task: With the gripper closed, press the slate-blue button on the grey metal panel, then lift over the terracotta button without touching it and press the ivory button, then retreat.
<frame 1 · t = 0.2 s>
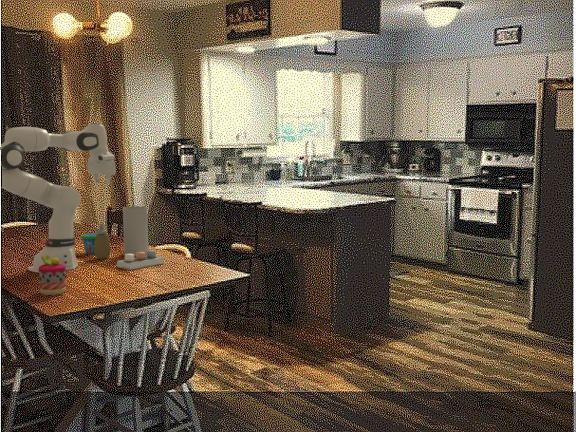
hand: (102, 183, 316), 39 cm above the table, tool pointing down, fingers open, 8 cm apart
terracotta button: (140, 255, 308), point 5 cm above the table, slide at 0.0 cm
cake: (53, 293, 255), on the table
squeeze bottle: (102, 258, 325), on the table
panel: (140, 265, 308), on the table
snack cup: (92, 253, 338), on the table
cylinder vase: (136, 254, 336), on the table
ivory button: (129, 257, 303), point 5 cm above the table, slide at 0.0 cm
slate button: (151, 253, 313), point 5 cm above the table, slide at 0.0 cm
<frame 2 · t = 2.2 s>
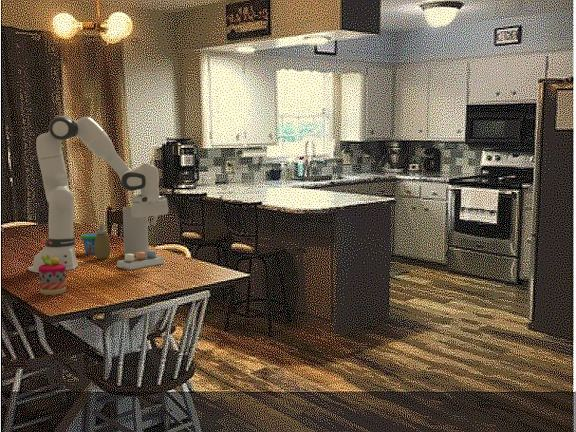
hand: (150, 225, 311), 19 cm above the table, tool pointing down, fingers closed
nothing on the table moved.
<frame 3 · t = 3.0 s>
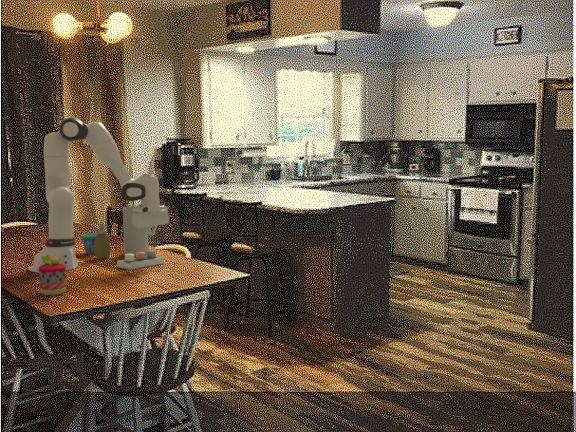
hand: (151, 234, 312), 14 cm above the table, tool pointing down, fingers closed
nothing on the table moved.
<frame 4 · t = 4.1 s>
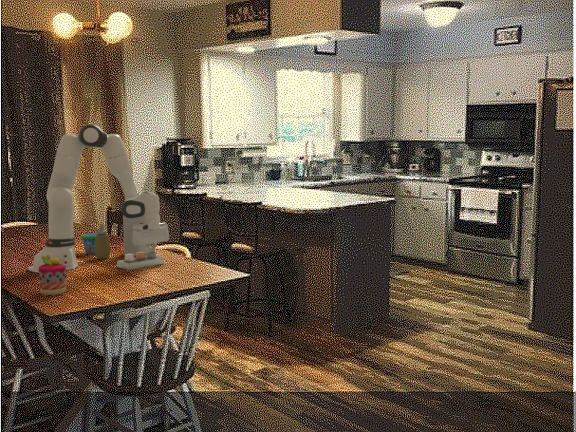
hand: (151, 252, 313), 6 cm above the table, tool pointing down, fingers closed, pressing on slate button
slate button: (151, 255, 313), point 4 cm above the table, slide at -0.8 cm, touching gripper
everything else where it was.
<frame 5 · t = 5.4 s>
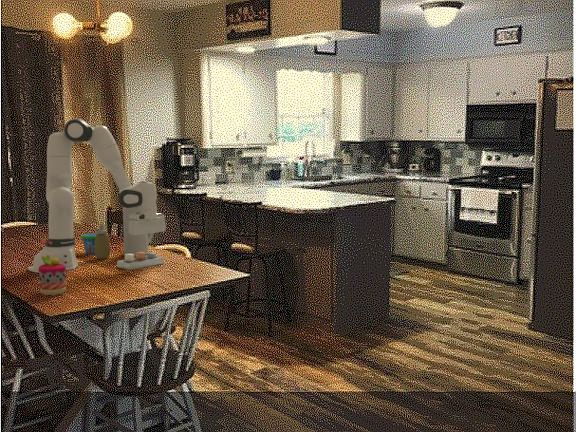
hand: (147, 242, 311), 11 cm above the table, tool pointing down, fingers closed
slate button: (151, 256, 313), point 4 cm above the table, slide at -1.3 cm
everything else where it was.
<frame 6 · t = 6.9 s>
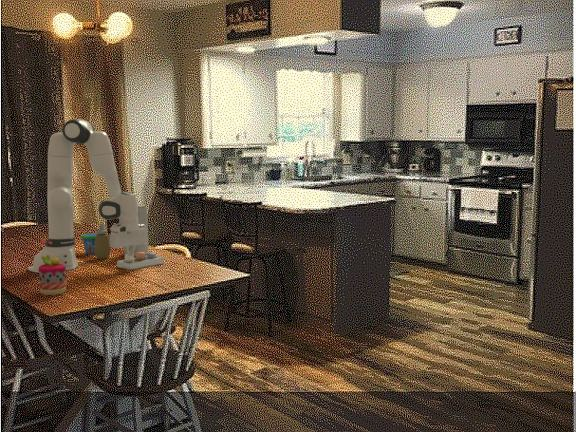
hand: (130, 254, 303), 6 cm above the table, tool pointing down, fingers closed
ivory button: (129, 258, 303), point 5 cm above the table, slide at -0.3 cm, touching gripper
everything else where it was.
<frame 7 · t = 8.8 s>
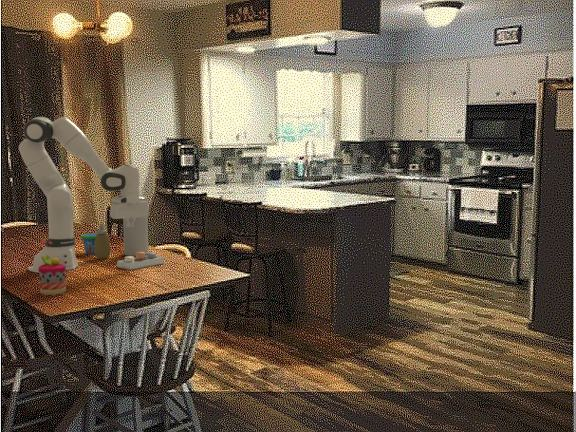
hand: (129, 226, 306), 19 cm above the table, tool pointing down, fingers closed
ivory button: (129, 260, 303), point 4 cm above the table, slide at -1.3 cm
everything else where it was.
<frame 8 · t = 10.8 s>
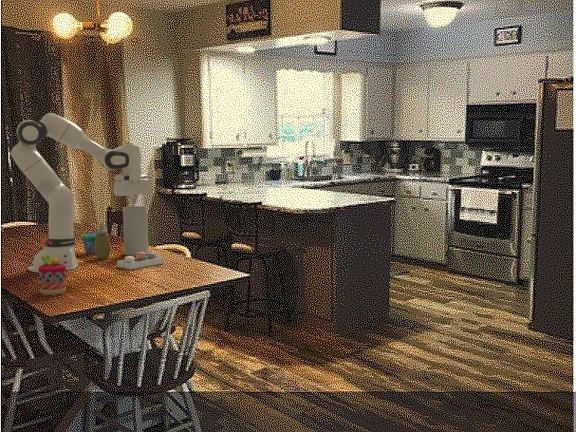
hand: (133, 204, 313), 29 cm above the table, tool pointing down, fingers closed
nothing on the table moved.
at the end: slate button slide at -1.3 cm; ivory button slide at -1.3 cm; terracotta button slide at 0.0 cm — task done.
